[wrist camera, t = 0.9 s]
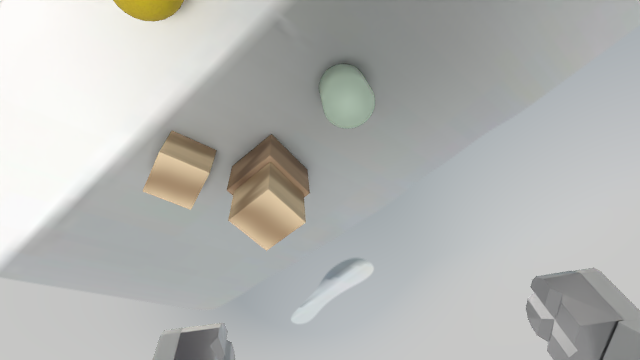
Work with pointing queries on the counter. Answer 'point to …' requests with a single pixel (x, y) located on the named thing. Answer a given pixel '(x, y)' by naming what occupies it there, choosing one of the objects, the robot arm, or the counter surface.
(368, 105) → the sage green cylinder
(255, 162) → the tower block base
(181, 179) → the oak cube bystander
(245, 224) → the tower block top
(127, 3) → the lemon
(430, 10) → the counter surface
